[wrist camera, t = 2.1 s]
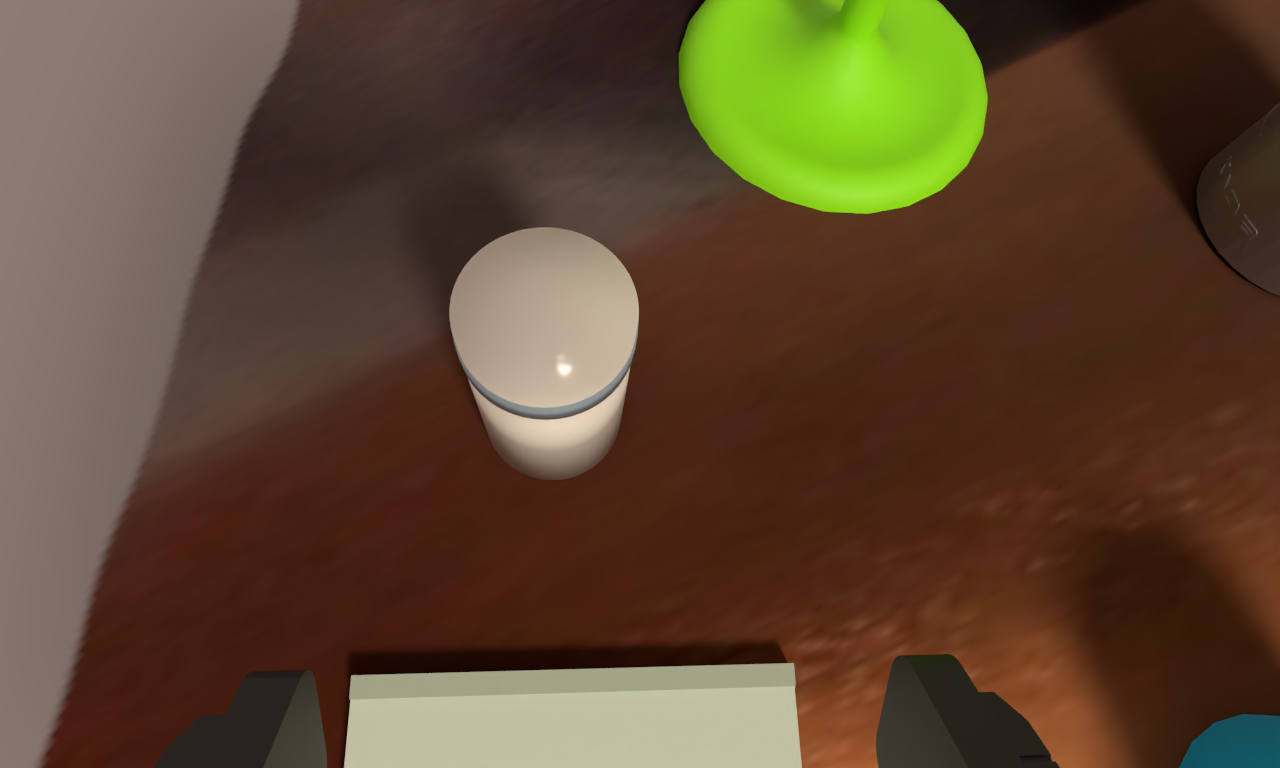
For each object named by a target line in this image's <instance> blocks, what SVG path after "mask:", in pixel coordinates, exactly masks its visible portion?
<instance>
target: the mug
mask: <svg viewBox="0 0 1280 768" xmlns="http://www.w3.org/2000/svg"><path fill="white" fill-rule="evenodd" d="M1179 768H1280V716H1271V715H1252V714H1241V715H1238V716H1235V717H1231V718H1228V719H1225V720H1221V721H1218V722H1215V723H1214V724H1212V725H1211V726H1210V727H1209V728H1208V729H1206V730H1205V731H1204V732H1203V733H1202V734H1201V735H1199V736H1198V737H1197V738H1196V739H1195V740H1194V741H1192V743H1191V745H1190V747H1189V749H1188V751H1187V753H1186V755H1185V757H1184V759H1183V761H1182V763H1181V765H1180V767H1179Z"/></svg>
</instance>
